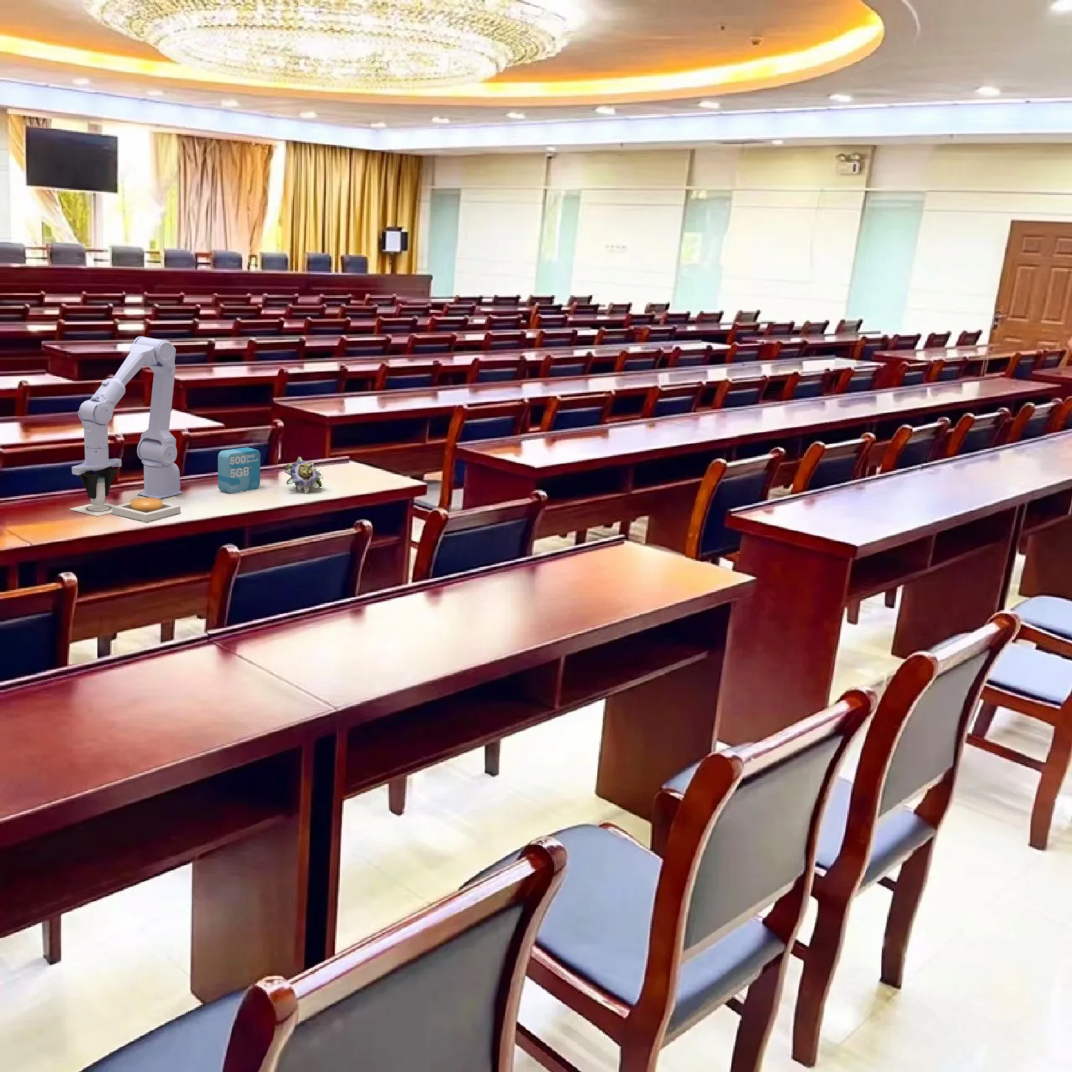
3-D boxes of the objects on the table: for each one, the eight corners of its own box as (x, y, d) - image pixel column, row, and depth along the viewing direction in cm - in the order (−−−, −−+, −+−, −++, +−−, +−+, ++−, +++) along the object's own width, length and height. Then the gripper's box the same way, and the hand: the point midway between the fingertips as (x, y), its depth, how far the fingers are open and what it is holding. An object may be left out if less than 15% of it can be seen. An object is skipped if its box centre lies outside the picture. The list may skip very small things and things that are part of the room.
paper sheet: (100, 502, 283) (100, 501, 283) (127, 508, 279) (127, 507, 279) (69, 509, 274) (69, 508, 274) (97, 516, 270) (97, 515, 270)
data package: (227, 494, 301) (227, 454, 298) (217, 491, 304) (217, 451, 301) (260, 488, 311) (260, 449, 308) (250, 485, 313) (250, 446, 310)
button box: (147, 505, 284) (146, 498, 283) (180, 513, 279) (180, 506, 278) (112, 514, 273) (112, 506, 272) (146, 522, 268) (146, 515, 268)
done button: (146, 501, 280) (146, 495, 280) (169, 507, 277) (169, 501, 277) (123, 507, 273) (123, 501, 273) (146, 512, 270) (146, 506, 270)
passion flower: (305, 510, 312) (288, 482, 303) (287, 495, 319) (270, 468, 310) (334, 487, 315) (319, 459, 307) (316, 473, 322) (300, 445, 314)
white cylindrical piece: (99, 500, 278) (98, 475, 276) (108, 503, 277) (107, 477, 275) (87, 503, 275) (86, 477, 273) (97, 505, 274) (96, 480, 272)
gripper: (107, 440, 280) (108, 489, 283) (62, 448, 267) (64, 499, 271) (126, 444, 277) (128, 493, 280) (82, 452, 264) (84, 504, 268)
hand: (98, 496), depth 275 cm, fingers closed on white cylindrical piece, 3 cm apart
